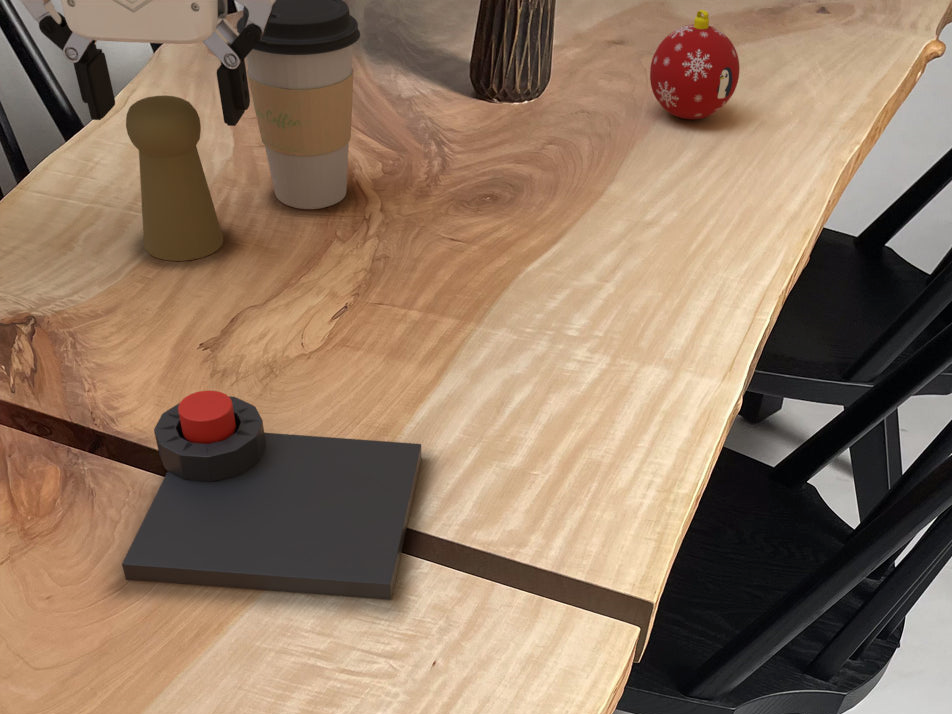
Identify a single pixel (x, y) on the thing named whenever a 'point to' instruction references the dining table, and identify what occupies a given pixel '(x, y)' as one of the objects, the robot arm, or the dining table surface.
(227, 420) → the scale button
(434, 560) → the dining table surface
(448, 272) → the dining table surface
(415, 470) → the dark grey button base
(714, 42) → the christmas ornament
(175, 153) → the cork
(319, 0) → the coffee cup
